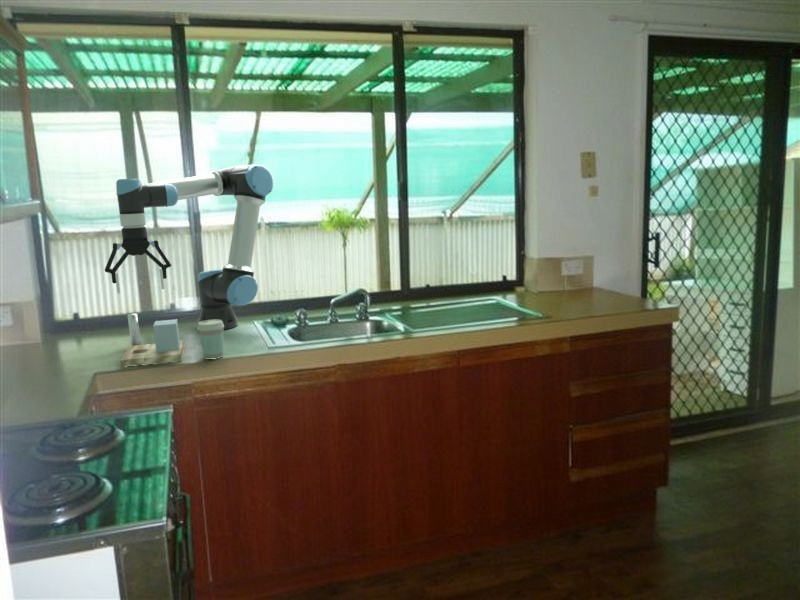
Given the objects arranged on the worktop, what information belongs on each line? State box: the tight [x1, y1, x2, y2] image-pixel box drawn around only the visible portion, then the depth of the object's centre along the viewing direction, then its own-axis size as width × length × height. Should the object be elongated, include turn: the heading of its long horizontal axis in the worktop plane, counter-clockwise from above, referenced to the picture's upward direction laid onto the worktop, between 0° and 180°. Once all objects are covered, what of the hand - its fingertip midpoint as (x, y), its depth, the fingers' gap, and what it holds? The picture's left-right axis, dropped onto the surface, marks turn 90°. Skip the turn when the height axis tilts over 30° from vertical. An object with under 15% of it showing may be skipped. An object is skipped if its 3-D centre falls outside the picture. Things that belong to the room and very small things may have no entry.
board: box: [120, 340, 186, 368], centre depth 201 cm, size 18×18×10 cm
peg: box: [127, 312, 142, 346], centre depth 214 cm, size 3×3×12 cm
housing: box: [152, 318, 181, 352], centre depth 201 cm, size 7×7×9 cm
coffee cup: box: [196, 319, 224, 359], centre depth 198 cm, size 8×8×12 cm
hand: (141, 290), depth 201 cm, fingers open, 13 cm apart
